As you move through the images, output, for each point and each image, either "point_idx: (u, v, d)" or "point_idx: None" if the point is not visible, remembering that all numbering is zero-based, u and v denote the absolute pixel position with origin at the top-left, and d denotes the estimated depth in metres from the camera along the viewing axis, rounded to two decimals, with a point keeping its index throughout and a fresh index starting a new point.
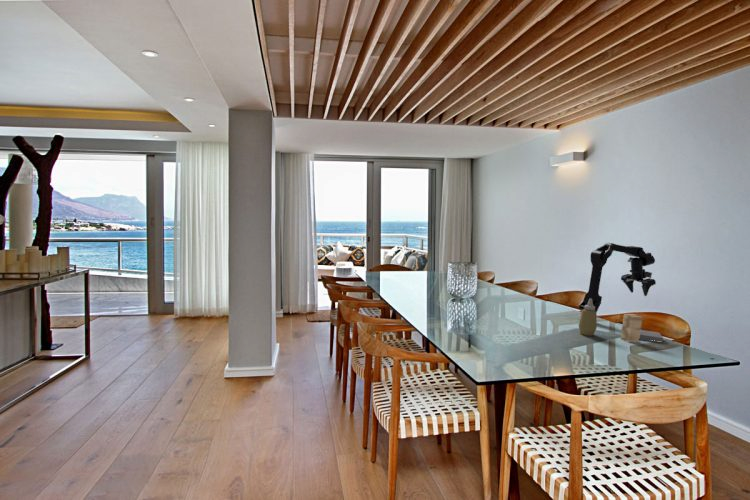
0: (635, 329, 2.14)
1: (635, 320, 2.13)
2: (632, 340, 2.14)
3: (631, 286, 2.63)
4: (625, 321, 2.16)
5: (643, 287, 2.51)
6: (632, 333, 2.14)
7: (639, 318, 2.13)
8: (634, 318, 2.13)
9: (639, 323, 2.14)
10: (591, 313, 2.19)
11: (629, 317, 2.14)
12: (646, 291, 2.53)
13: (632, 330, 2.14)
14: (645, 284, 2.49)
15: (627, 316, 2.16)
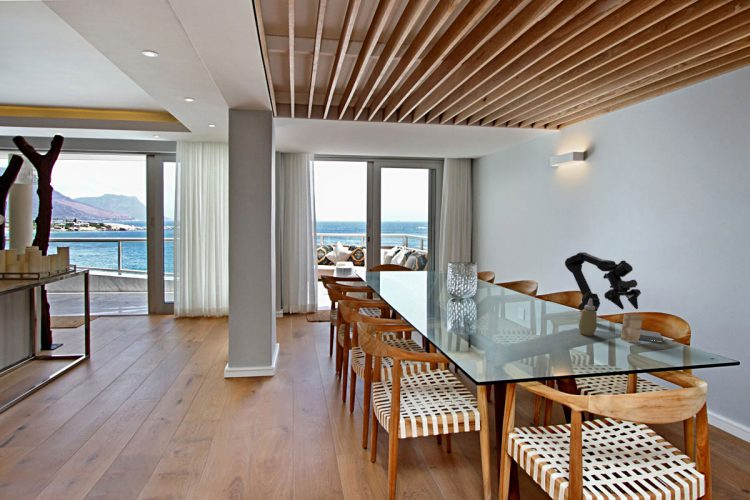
0: (635, 329, 2.14)
1: (635, 320, 2.13)
2: (632, 340, 2.14)
3: (633, 302, 2.28)
4: (625, 321, 2.16)
5: None
6: (632, 333, 2.14)
7: (639, 318, 2.13)
8: (634, 318, 2.13)
9: (639, 323, 2.14)
10: (591, 313, 2.19)
11: (629, 317, 2.14)
12: (618, 304, 2.24)
13: (632, 330, 2.14)
14: None
15: (627, 316, 2.16)
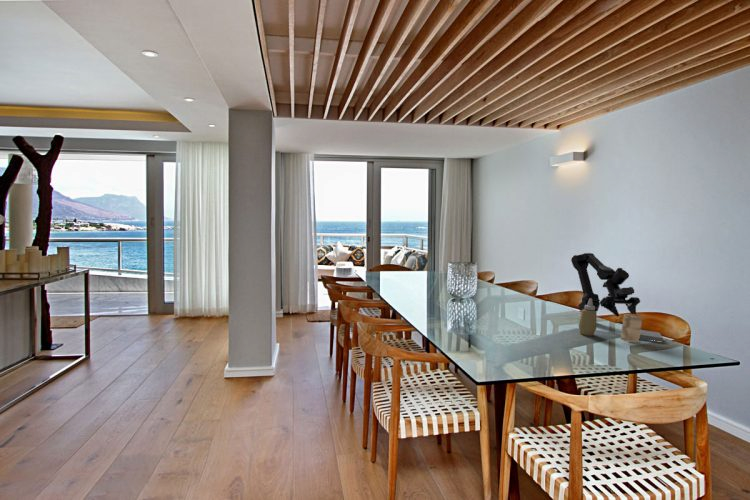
0: (635, 329, 2.14)
1: (635, 320, 2.13)
2: (632, 340, 2.14)
3: (632, 310, 2.23)
4: (625, 321, 2.16)
5: None
6: (632, 333, 2.14)
7: (639, 318, 2.13)
8: (634, 318, 2.13)
9: (639, 323, 2.14)
10: (591, 313, 2.19)
11: (629, 317, 2.14)
12: (613, 311, 2.21)
13: (632, 330, 2.14)
14: None
15: (627, 316, 2.16)
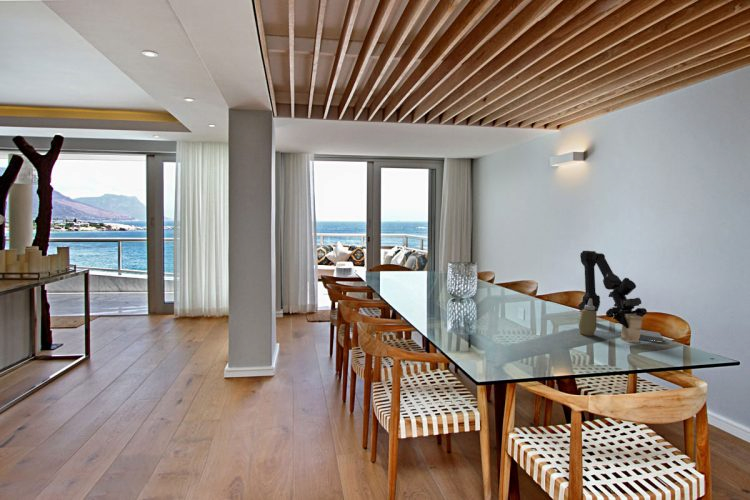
0: (635, 329, 2.14)
1: (635, 320, 2.13)
2: (632, 340, 2.14)
3: None
4: None
5: None
6: (632, 333, 2.14)
7: (639, 318, 2.13)
8: (634, 318, 2.13)
9: (639, 323, 2.14)
10: (591, 313, 2.19)
11: (629, 317, 2.14)
12: (623, 322, 2.16)
13: (632, 330, 2.14)
14: None
15: (627, 316, 2.16)
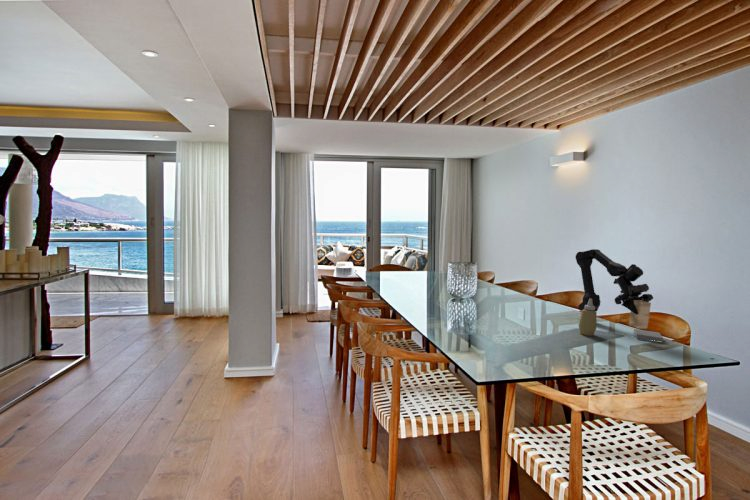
0: (644, 315, 2.14)
1: (644, 306, 2.14)
2: (641, 326, 2.15)
3: None
4: None
5: None
6: (641, 319, 2.14)
7: (648, 304, 2.14)
8: (643, 304, 2.14)
9: (648, 309, 2.15)
10: (591, 313, 2.19)
11: (638, 303, 2.15)
12: (632, 309, 2.17)
13: (642, 316, 2.14)
14: None
15: (636, 302, 2.16)
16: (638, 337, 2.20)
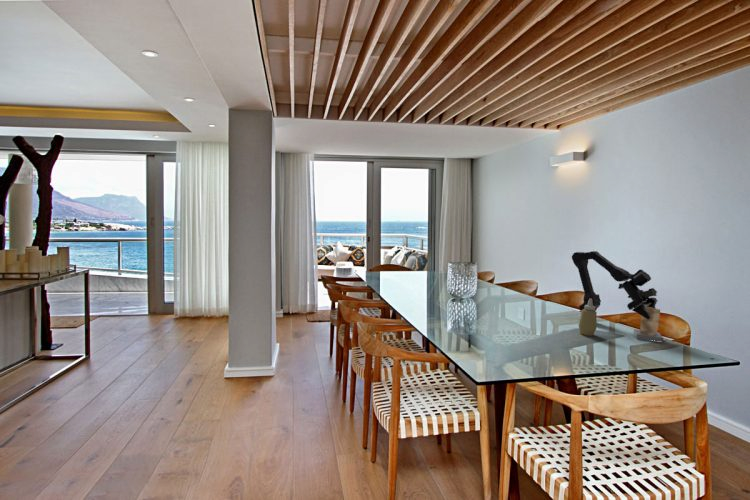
0: (655, 322, 2.20)
1: (656, 313, 2.20)
2: (653, 333, 2.21)
3: None
4: None
5: None
6: (654, 326, 2.20)
7: (658, 311, 2.21)
8: (656, 311, 2.19)
9: (658, 316, 2.21)
10: (591, 313, 2.19)
11: (651, 311, 2.20)
12: (643, 314, 2.20)
13: (654, 323, 2.20)
14: None
15: (648, 310, 2.21)
16: (638, 337, 2.20)
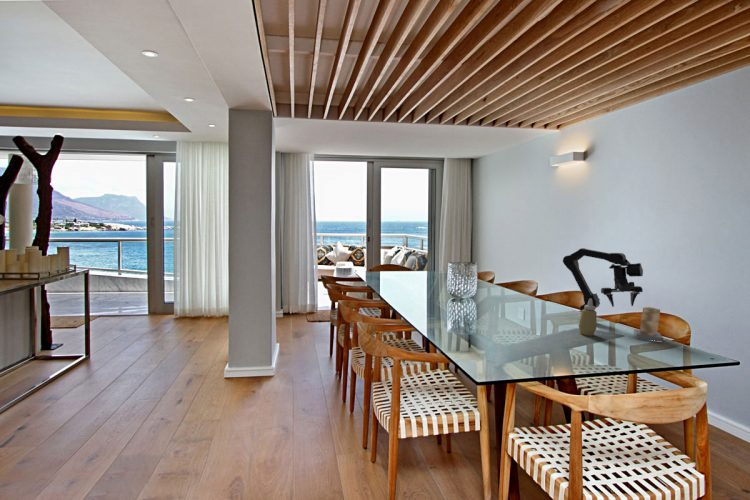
0: (655, 322, 2.20)
1: (656, 313, 2.20)
2: (653, 333, 2.21)
3: (631, 298, 2.37)
4: (646, 315, 2.22)
5: None
6: (654, 326, 2.20)
7: (658, 311, 2.21)
8: (655, 311, 2.19)
9: (658, 316, 2.21)
10: (591, 313, 2.19)
11: (651, 311, 2.20)
12: (610, 301, 2.39)
13: (654, 323, 2.20)
14: None
15: (648, 310, 2.21)
16: (638, 337, 2.20)
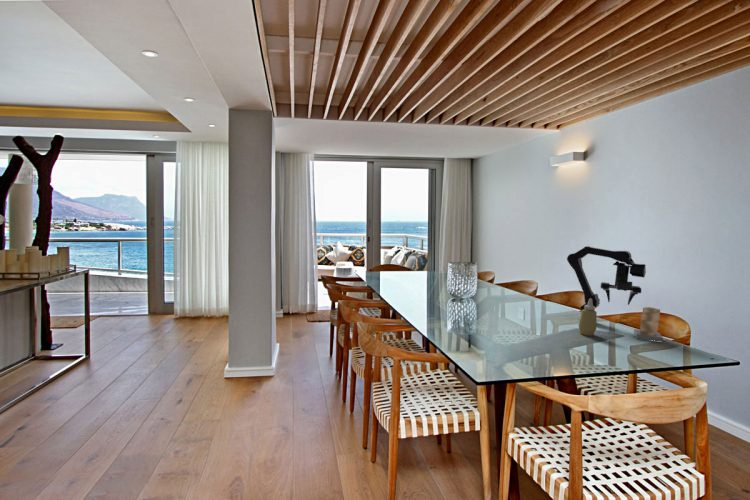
0: (655, 322, 2.20)
1: (656, 313, 2.20)
2: (653, 333, 2.21)
3: (629, 297, 2.38)
4: (646, 315, 2.22)
5: None
6: (654, 326, 2.20)
7: (658, 311, 2.21)
8: (655, 311, 2.19)
9: (658, 316, 2.21)
10: (591, 313, 2.19)
11: (651, 311, 2.20)
12: (607, 296, 2.42)
13: (654, 323, 2.20)
14: None
15: (648, 310, 2.21)
16: (638, 337, 2.20)
